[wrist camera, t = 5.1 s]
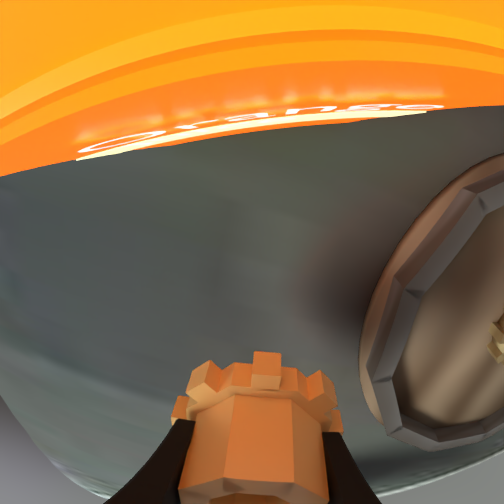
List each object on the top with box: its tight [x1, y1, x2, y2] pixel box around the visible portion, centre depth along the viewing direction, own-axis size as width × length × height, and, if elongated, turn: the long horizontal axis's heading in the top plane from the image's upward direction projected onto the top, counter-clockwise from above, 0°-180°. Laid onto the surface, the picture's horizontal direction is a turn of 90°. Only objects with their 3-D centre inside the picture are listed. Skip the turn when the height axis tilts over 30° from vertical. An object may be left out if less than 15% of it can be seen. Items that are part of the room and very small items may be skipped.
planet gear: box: [171, 351, 344, 504], centre depth 10 cm, size 6×6×4 cm
